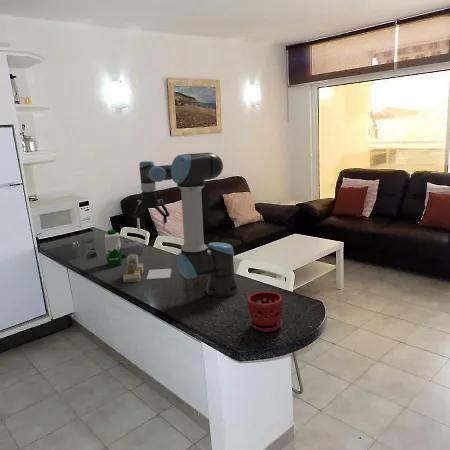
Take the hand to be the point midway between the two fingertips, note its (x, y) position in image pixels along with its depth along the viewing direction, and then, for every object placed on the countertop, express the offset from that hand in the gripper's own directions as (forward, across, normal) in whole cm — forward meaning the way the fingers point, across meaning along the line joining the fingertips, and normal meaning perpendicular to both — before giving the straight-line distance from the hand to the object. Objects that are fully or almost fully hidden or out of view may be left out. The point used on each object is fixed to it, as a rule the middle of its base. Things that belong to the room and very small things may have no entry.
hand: (151, 229), depth 220 cm
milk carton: (+24, +26, -15) cm, 38 cm away
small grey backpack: (+24, +22, -38) cm, 50 cm away
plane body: (+23, +10, +8) cm, 26 cm away
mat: (+23, -3, +7) cm, 24 cm away
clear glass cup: (+19, +10, +8) cm, 23 cm away
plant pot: (+23, -52, +72) cm, 92 cm away
